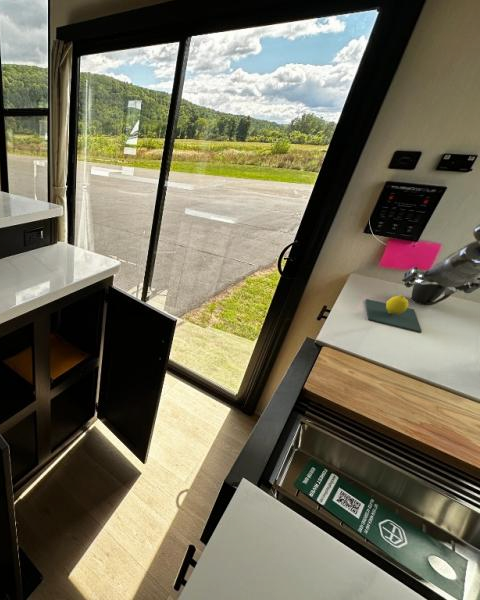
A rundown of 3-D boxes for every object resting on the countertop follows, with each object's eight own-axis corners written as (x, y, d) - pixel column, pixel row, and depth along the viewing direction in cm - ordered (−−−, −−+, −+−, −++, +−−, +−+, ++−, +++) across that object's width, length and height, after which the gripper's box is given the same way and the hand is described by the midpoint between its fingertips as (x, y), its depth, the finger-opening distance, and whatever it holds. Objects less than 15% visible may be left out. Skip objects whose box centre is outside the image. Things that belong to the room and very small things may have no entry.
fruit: (400, 320, 112) (412, 301, 107) (380, 314, 115) (391, 295, 111) (402, 313, 115) (414, 294, 111) (382, 308, 118) (393, 289, 114)
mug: (422, 311, 117) (437, 289, 112) (401, 295, 127) (413, 273, 122) (449, 313, 115) (465, 290, 110) (425, 296, 125) (438, 275, 120)
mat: (413, 310, 117) (414, 309, 117) (421, 332, 106) (422, 331, 106) (365, 300, 124) (366, 298, 124) (368, 320, 113) (368, 318, 113)
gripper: (418, 275, 85) (392, 293, 99) (497, 288, 77) (457, 306, 91) (425, 249, 85) (398, 271, 99) (503, 261, 78) (463, 282, 92)
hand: (426, 288), depth 95 cm, fingers open, 8 cm apart
